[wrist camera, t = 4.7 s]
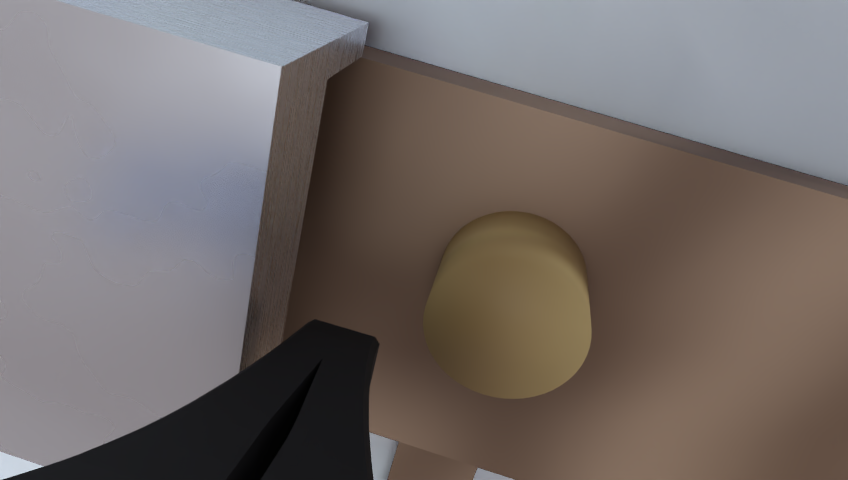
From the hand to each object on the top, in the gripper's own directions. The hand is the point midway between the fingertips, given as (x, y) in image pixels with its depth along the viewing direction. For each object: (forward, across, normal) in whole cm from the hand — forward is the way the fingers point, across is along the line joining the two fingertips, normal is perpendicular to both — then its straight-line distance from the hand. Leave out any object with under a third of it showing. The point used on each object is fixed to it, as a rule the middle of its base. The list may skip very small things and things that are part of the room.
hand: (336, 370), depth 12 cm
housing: (+2, +5, -2) cm, 5 cm away
